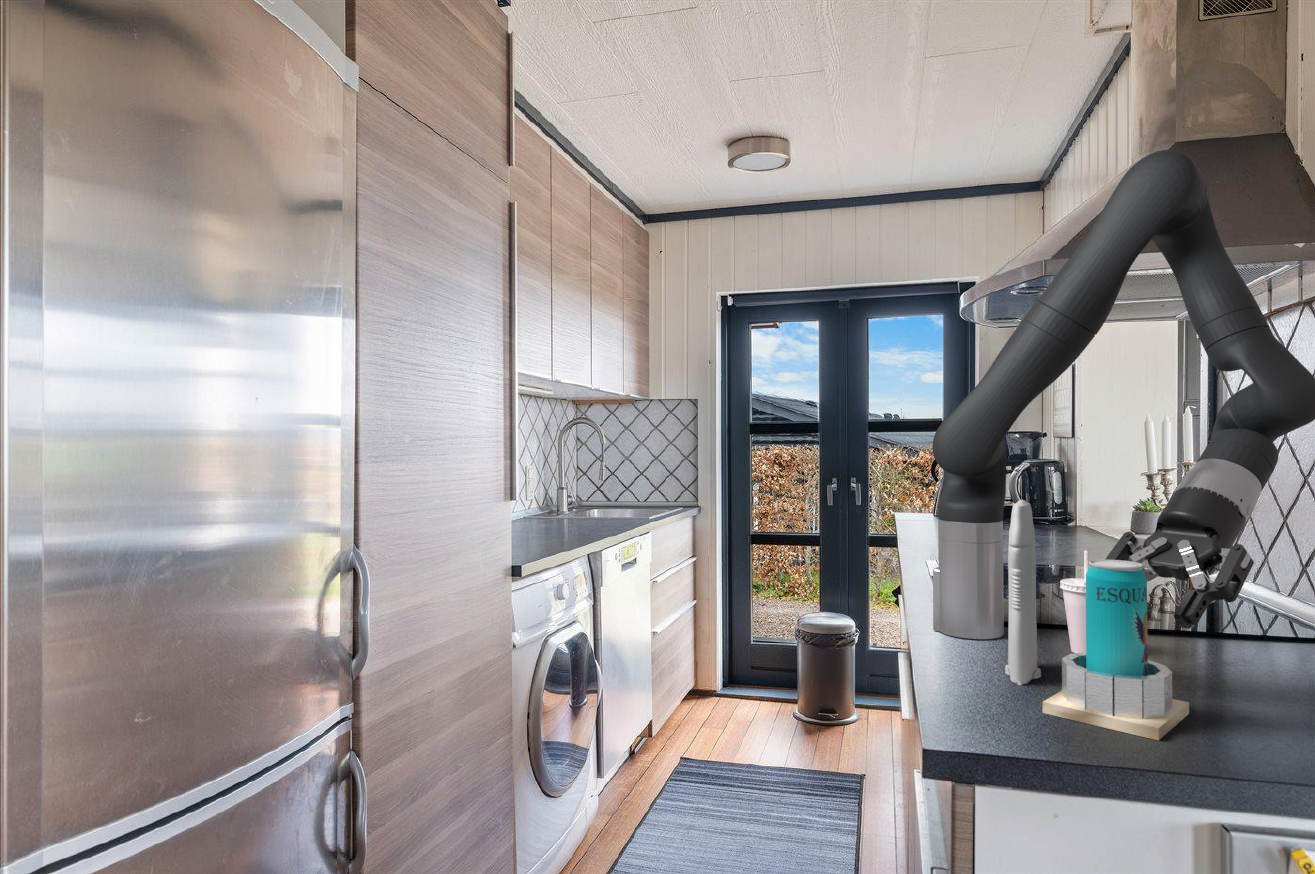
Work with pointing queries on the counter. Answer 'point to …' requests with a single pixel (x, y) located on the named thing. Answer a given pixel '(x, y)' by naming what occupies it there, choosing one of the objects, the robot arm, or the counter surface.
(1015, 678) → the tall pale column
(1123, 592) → the beverage can
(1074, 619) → the smoothie
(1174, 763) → the counter surface
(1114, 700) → the collar
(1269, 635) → the counter surface
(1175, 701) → the base board
